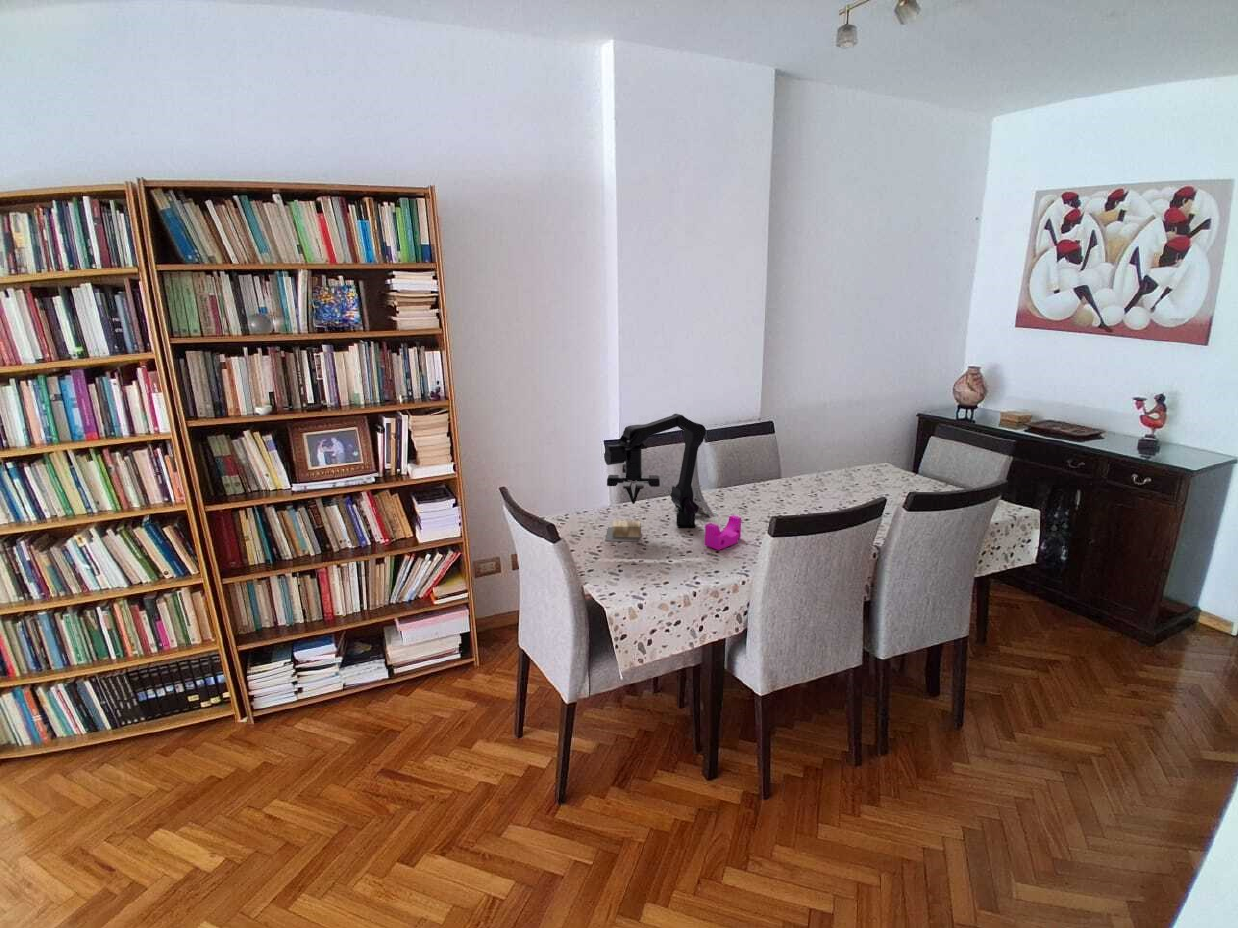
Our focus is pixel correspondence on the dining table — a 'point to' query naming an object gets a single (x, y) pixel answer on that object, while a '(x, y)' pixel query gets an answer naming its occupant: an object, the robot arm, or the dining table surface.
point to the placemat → (622, 539)
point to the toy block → (723, 533)
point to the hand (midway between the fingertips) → (633, 503)
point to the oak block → (627, 529)
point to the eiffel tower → (698, 493)
